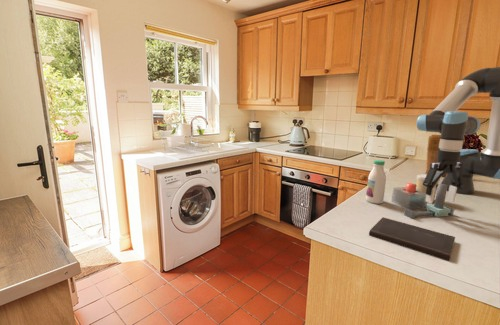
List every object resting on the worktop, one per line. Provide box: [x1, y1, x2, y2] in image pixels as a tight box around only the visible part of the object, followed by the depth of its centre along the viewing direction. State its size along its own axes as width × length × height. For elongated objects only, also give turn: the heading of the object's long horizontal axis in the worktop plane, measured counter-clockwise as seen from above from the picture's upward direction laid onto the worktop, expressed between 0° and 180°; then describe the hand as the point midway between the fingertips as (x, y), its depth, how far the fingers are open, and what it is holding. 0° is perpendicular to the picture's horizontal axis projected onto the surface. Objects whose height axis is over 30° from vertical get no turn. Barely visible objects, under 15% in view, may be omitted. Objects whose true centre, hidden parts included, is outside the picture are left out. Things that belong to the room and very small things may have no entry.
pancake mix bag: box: [425, 134, 466, 178], centre depth 177 cm, size 7×19×28 cm, turn 49°
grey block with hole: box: [390, 186, 428, 210], centre depth 123 cm, size 10×10×7 cm
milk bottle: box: [365, 159, 387, 205], centre depth 125 cm, size 8×8×20 cm
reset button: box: [405, 182, 417, 193], centre depth 122 cm, size 4×4×6 cm
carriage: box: [425, 183, 451, 218], centre depth 111 cm, size 6×6×13 cm
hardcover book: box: [368, 217, 456, 262], centre depth 91 cm, size 16×23×2 cm
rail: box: [403, 205, 455, 220], centre depth 111 cm, size 21×4×3 cm, turn 102°
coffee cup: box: [415, 173, 440, 202], centre depth 130 cm, size 9×9×12 cm
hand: (439, 201), depth 111 cm, fingers open, 10 cm apart
